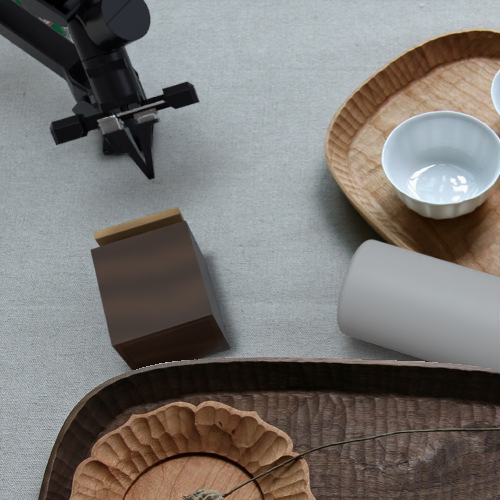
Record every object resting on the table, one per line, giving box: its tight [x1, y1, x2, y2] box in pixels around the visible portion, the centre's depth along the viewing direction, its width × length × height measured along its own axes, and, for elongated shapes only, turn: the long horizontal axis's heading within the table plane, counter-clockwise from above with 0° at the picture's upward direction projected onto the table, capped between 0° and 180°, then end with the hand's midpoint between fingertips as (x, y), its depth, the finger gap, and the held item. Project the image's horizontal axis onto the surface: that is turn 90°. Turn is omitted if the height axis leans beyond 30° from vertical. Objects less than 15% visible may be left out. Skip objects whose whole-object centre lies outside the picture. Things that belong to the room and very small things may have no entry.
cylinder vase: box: [336, 239, 500, 373], centre depth 101 cm, size 12×12×25 cm
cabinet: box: [90, 219, 232, 371], centre depth 105 cm, size 15×13×10 cm
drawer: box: [93, 206, 185, 247], centre depth 107 cm, size 15×11×8 cm
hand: (152, 179), depth 108 cm, fingers closed
